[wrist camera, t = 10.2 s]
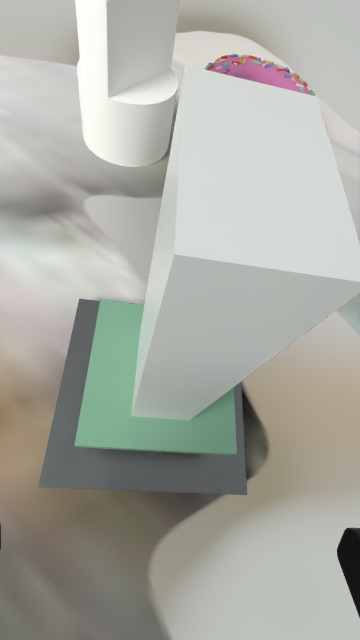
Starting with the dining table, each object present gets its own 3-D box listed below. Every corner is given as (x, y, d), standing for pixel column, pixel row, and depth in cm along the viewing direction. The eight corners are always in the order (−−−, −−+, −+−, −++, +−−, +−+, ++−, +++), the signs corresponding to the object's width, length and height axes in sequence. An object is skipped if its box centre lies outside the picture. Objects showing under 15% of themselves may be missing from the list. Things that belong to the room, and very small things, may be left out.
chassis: (240, 493, 20) (268, 498, 16) (42, 486, 18) (24, 489, 14) (232, 325, 25) (252, 299, 21) (81, 306, 23) (74, 275, 20)
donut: (297, 183, 35) (323, 142, 31) (179, 142, 35) (188, 94, 30) (304, 117, 42) (326, 75, 38) (205, 81, 42) (216, 34, 37)
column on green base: (230, 455, 17) (558, 397, 4) (76, 447, 15) (-76, 335, 3) (225, 322, 20) (395, 85, 8) (101, 307, 19) (75, 2, 7)
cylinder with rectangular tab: (124, 102, 36) (127, -53, 25) (184, 143, 35) (214, -2, 24) (64, 131, 32) (38, -39, 21) (129, 179, 30) (137, 23, 20)
